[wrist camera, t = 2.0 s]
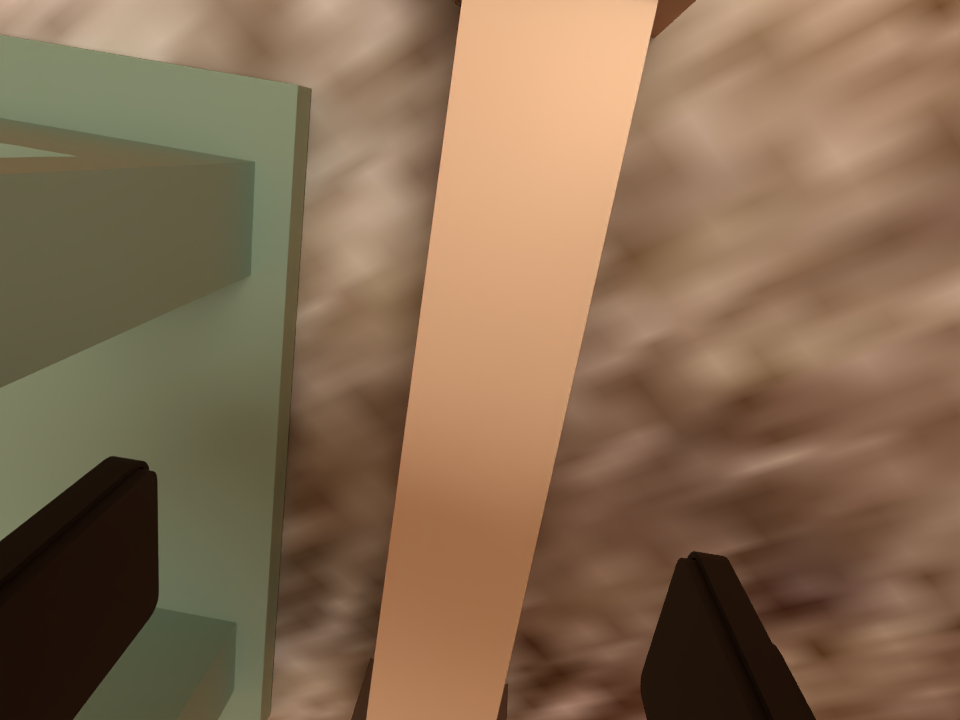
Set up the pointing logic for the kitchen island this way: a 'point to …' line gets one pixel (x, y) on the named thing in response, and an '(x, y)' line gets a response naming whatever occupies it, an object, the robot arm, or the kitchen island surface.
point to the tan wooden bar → (500, 336)
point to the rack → (157, 340)
